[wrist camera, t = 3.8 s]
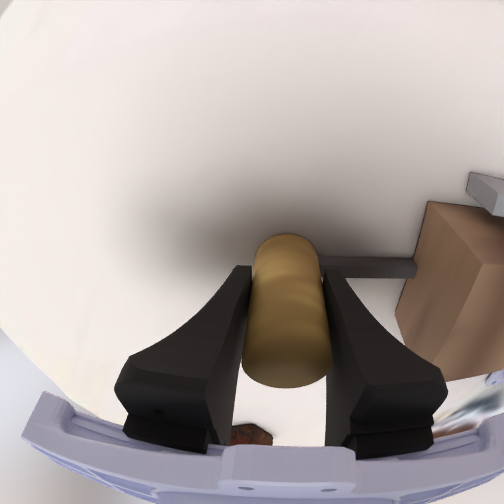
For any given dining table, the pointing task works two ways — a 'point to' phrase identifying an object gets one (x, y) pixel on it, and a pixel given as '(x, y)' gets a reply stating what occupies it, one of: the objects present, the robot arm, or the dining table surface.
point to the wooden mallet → (409, 308)
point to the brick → (249, 436)
